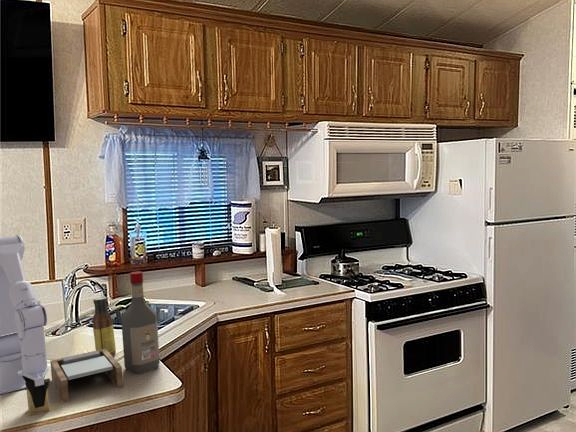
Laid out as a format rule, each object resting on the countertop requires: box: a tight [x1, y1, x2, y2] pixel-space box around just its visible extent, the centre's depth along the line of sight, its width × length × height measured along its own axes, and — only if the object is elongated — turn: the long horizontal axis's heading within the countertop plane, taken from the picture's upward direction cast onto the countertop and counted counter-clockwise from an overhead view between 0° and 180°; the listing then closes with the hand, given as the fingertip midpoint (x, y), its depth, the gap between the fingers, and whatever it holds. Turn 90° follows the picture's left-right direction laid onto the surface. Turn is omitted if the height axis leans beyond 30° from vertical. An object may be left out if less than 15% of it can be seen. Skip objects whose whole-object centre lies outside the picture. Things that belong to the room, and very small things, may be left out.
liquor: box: [121, 270, 161, 374], centre depth 161 cm, size 9×9×30 cm
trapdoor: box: [61, 350, 113, 381], centre depth 151 cm, size 14×12×3 cm
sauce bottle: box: [92, 296, 117, 357], centre depth 172 cm, size 6×6×20 cm
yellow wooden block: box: [25, 387, 50, 417], centre depth 136 cm, size 4×4×7 cm
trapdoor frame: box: [49, 349, 124, 403], centre depth 152 cm, size 18×16×6 cm
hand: (38, 403), depth 136 cm, fingers closed on yellow wooden block, 4 cm apart
